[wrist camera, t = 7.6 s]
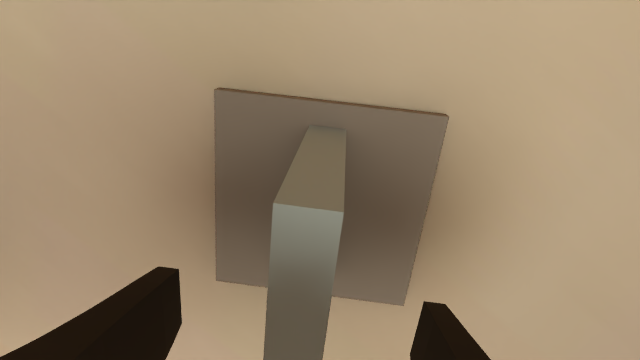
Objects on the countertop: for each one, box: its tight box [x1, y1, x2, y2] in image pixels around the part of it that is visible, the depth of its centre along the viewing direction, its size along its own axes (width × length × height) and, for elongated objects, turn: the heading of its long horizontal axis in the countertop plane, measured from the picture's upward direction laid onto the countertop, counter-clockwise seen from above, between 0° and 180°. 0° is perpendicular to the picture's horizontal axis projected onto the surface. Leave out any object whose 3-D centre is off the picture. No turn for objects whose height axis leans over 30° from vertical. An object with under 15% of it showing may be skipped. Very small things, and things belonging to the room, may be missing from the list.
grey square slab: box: [263, 125, 346, 360], centre depth 13 cm, size 2×8×8 cm, turn 174°
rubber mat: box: [214, 88, 449, 306], centre depth 17 cm, size 10×10×1 cm
